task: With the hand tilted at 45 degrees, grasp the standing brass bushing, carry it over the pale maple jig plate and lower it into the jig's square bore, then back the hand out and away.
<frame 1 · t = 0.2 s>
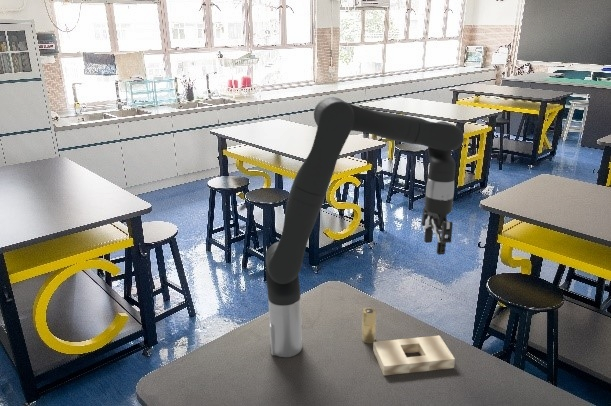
hand: (434, 247, 141), 29 cm above the table, fingers open, 8 cm apart
jig: (412, 359, 139), on the table
bushing: (368, 339, 148), on the table
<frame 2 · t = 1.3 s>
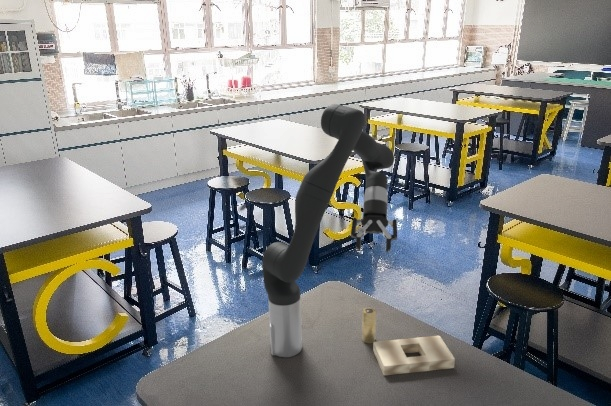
hand: (373, 251, 150), 24 cm above the table, fingers open, 8 cm apart
nothing on the table moved.
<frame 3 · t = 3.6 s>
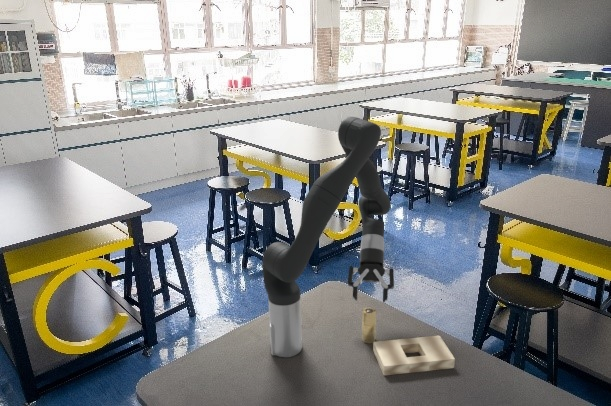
hand: (369, 300, 150), 10 cm above the table, fingers open, 8 cm apart
nothing on the table moved.
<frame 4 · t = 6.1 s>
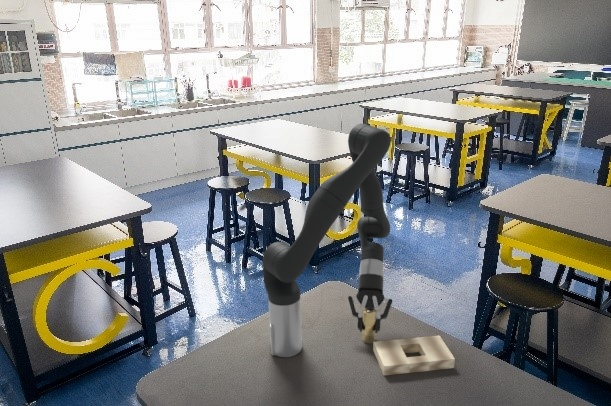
hand: (368, 331, 145), 4 cm above the table, fingers closed on bushing, 4 cm apart
bushing: (368, 339, 148), on the table, touching gripper
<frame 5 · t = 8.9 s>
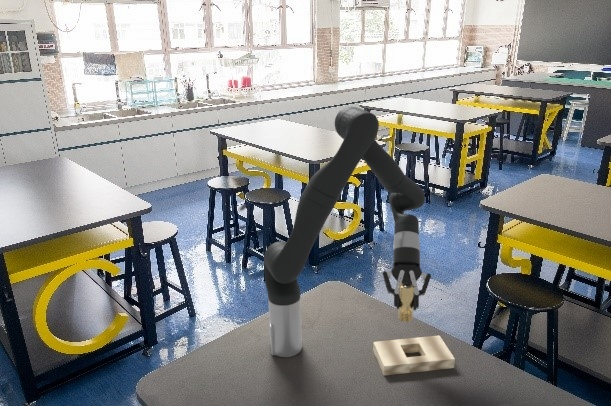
hand: (406, 308, 134), 16 cm above the table, fingers closed on bushing, 4 cm apart
bushing: (405, 317, 137), point 12 cm above the table, touching gripper
when the fingers open (6 cm above the table, at t = 12.0 s): bushing drops 2 cm, resting in jig.
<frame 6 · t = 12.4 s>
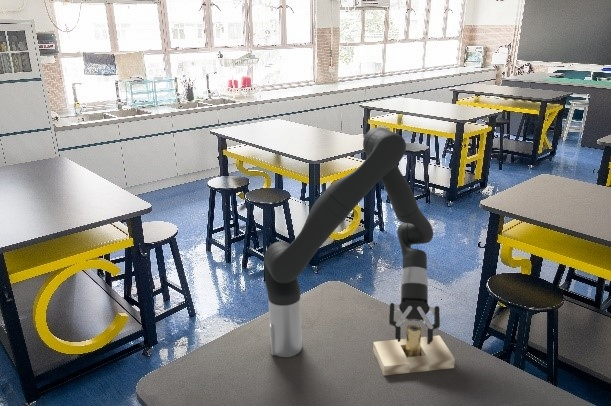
hand: (413, 342, 135), 7 cm above the table, fingers open, 7 cm apart
bushing: (412, 358, 139), resting in jig
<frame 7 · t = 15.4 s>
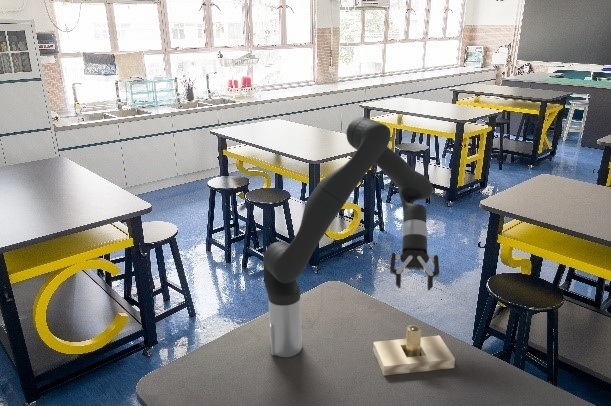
hand: (414, 288, 143), 16 cm above the table, fingers open, 8 cm apart
nothing on the table moved.
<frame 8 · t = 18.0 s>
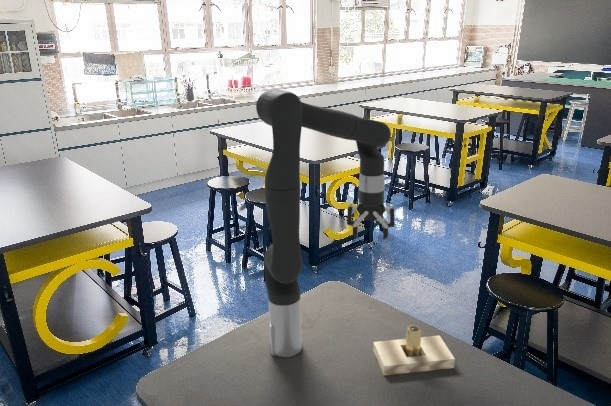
hand: (370, 237, 150), 28 cm above the table, fingers open, 8 cm apart
nothing on the table moved.
at the end: bushing 0.1 cm off-centre on the jig, point 0.0 cm above the jig's base; bushing tilted 0°; the gripper is holding nothing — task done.
